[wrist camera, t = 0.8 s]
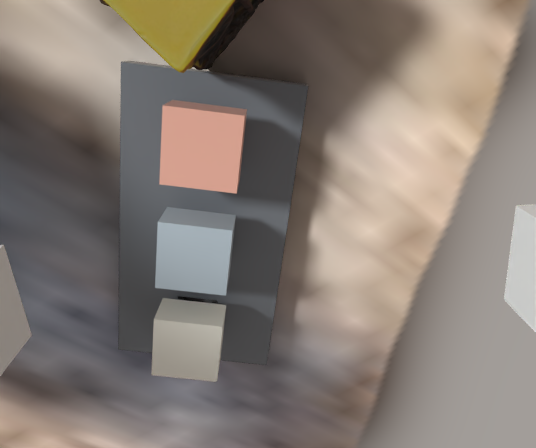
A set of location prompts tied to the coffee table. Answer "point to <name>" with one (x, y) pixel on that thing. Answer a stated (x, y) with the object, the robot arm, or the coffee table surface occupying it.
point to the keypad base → (208, 200)
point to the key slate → (194, 251)
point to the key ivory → (188, 339)
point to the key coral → (201, 146)
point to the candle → (186, 27)
